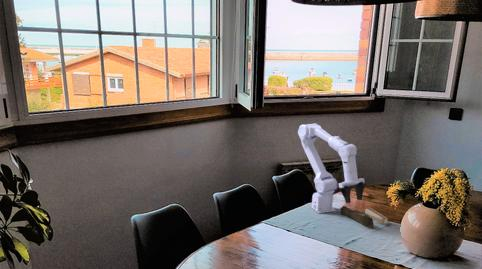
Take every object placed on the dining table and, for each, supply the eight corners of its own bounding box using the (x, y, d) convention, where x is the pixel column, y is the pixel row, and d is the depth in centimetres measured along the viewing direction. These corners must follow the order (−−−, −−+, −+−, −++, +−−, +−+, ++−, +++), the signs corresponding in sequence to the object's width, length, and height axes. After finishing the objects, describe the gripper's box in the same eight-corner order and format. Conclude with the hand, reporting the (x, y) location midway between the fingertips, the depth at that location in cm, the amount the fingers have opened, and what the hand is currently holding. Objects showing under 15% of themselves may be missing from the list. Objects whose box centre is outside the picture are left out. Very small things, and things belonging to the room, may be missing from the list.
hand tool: (339, 213, 172) (340, 204, 171) (345, 212, 174) (346, 203, 173) (368, 231, 155) (369, 221, 154) (374, 229, 157) (376, 219, 156)
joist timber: (381, 224, 162) (382, 218, 161) (365, 213, 173) (365, 208, 172) (387, 223, 162) (387, 218, 162) (370, 212, 174) (370, 207, 173)
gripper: (345, 173, 154) (349, 205, 154) (368, 169, 161) (371, 198, 161) (333, 173, 160) (337, 203, 160) (355, 168, 167) (359, 197, 167)
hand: (354, 201), depth 161 cm, fingers open, 7 cm apart
